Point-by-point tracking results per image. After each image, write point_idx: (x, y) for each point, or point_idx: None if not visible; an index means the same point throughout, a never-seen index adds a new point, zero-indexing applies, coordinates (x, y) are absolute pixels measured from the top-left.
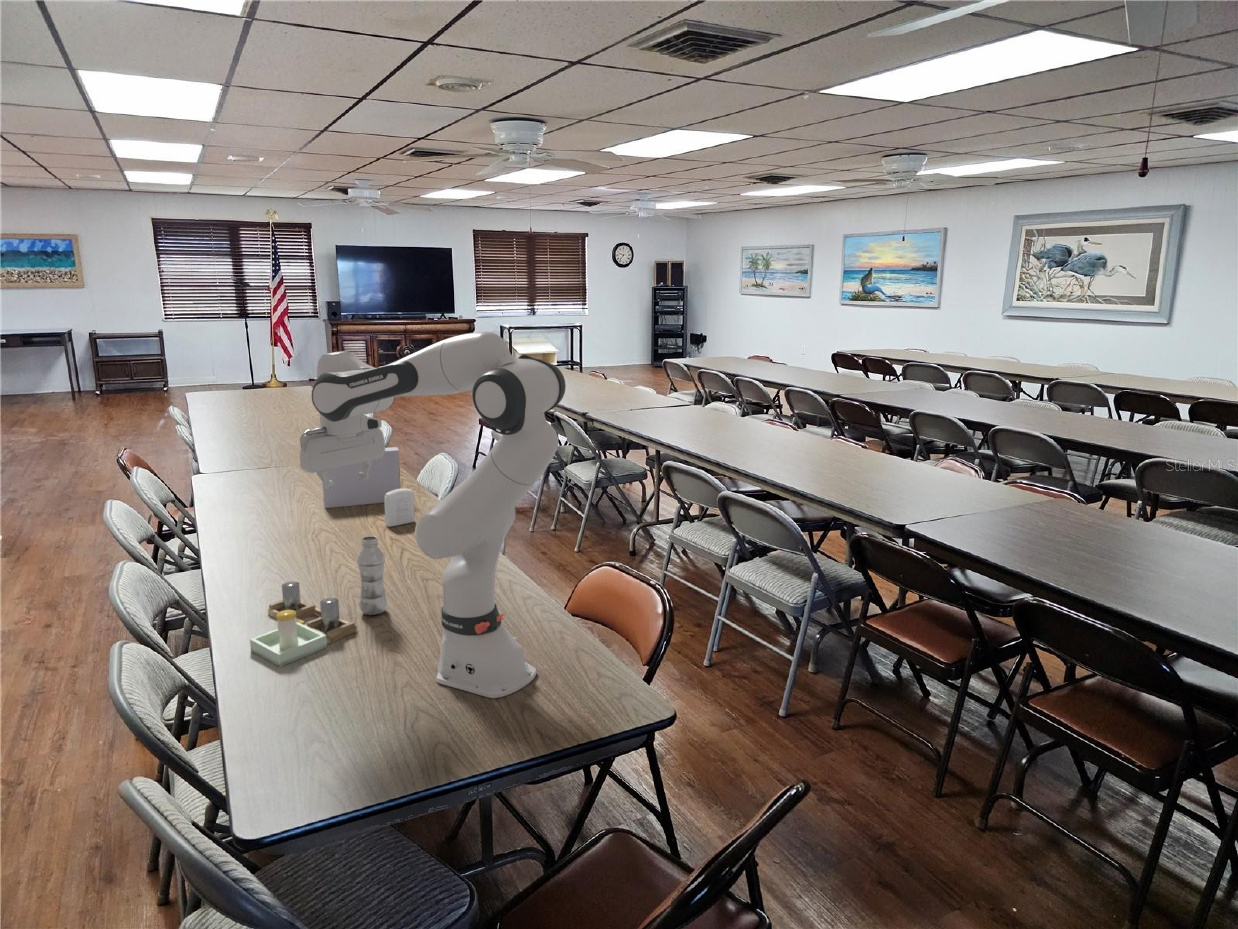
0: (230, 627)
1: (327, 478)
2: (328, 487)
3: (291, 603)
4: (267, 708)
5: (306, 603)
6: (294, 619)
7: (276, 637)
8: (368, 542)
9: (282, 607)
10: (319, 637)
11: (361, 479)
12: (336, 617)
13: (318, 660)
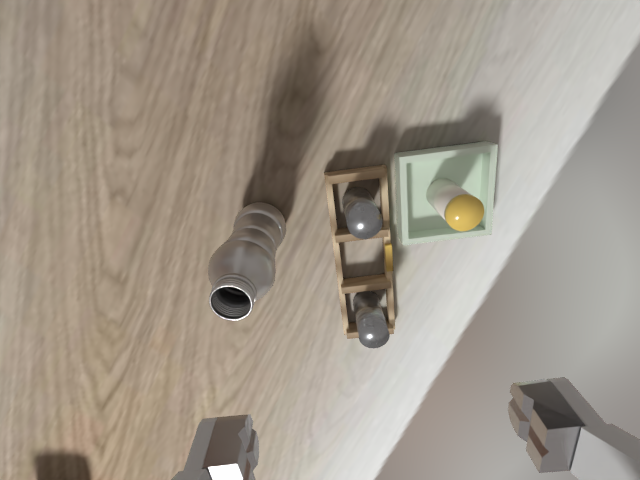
0: (453, 318)
1: (630, 451)
2: (562, 383)
3: (376, 306)
4: (589, 9)
5: (341, 310)
6: (454, 196)
7: (442, 230)
8: (244, 286)
9: None
10: (412, 157)
11: (248, 432)
12: (357, 197)
13: (431, 116)
